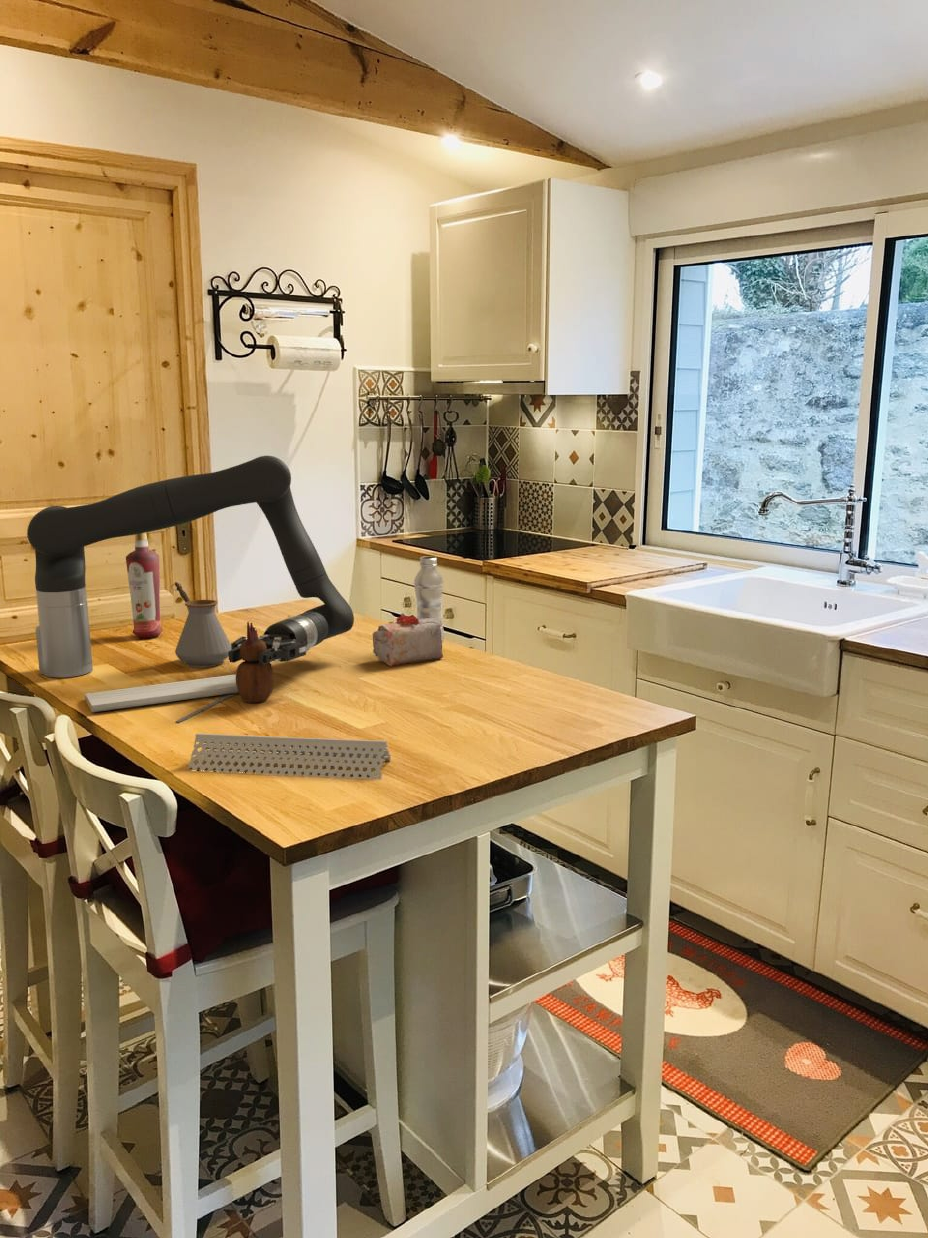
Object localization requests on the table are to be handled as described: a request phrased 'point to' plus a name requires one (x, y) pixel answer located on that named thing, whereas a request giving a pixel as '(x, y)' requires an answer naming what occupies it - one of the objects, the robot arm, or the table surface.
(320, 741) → the corner bead
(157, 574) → the liquor
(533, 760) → the table surface
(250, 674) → the wooden figurine
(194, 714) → the thin grey rod
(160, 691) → the baseboard molding
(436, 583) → the plastic bottle
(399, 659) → the food item
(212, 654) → the coffee pot
